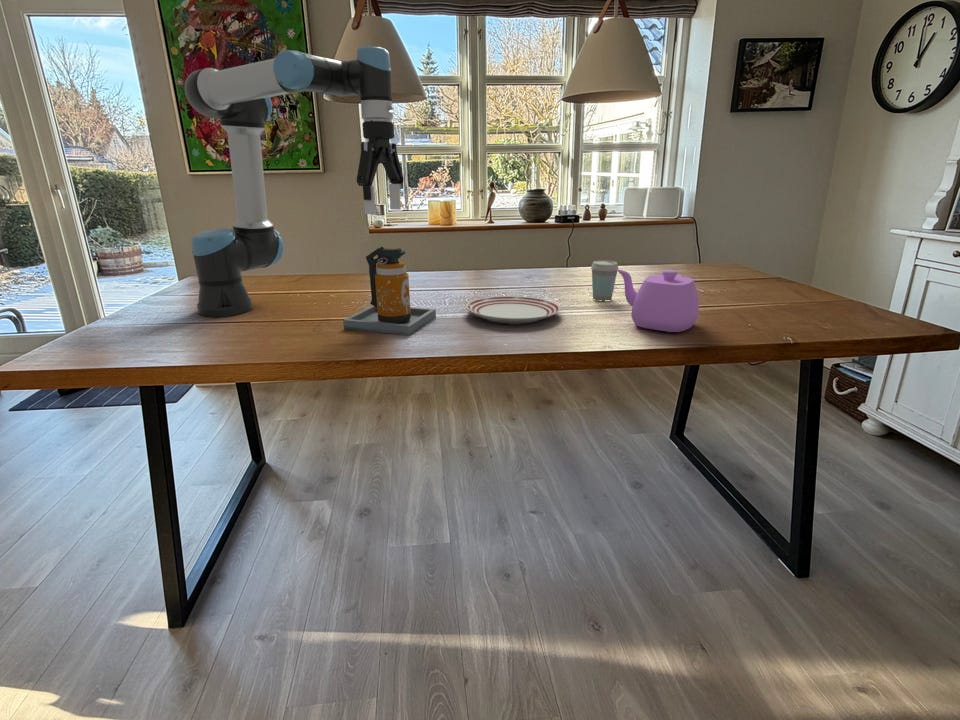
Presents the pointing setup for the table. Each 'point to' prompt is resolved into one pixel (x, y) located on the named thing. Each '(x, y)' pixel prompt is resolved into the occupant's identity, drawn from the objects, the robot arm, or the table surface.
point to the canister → (389, 285)
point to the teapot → (663, 301)
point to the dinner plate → (512, 309)
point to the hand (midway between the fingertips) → (383, 211)
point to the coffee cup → (603, 279)
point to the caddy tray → (370, 322)
